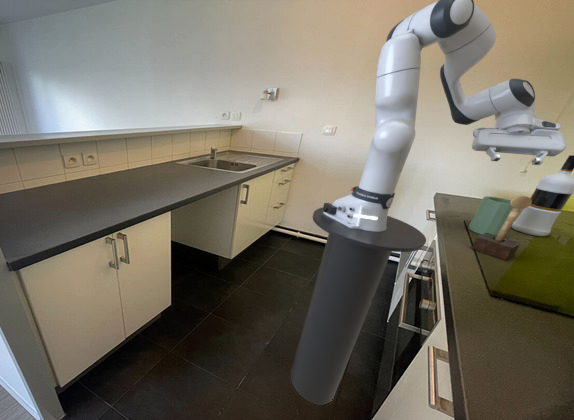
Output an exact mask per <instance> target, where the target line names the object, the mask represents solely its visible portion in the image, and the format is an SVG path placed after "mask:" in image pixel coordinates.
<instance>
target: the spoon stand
mask: <svg viewBox="0 0 574 420" xmlns="http://www.w3.org/2000/svg"><path fill="white" fill-rule="evenodd" d="M495 238H496V235H493V234H490V233H484V234H479V235H478V236H477V237H476V238H475V241H474V242H473V244H472V246H471V249H472V250H474V251H477V252H480V253H482V254H485V255H489V256H492V257H495V258H498V259H500V260H503V261H506V260H508V259H510V258H511V257H513V256H514V255H515V254H516V252H517V250H518V248H519V247H520V245H521V242H519V241H516V240H513V239H509V238H507V237H505V238H504V239H503V241H502V242H501V241H498V240H495Z"/></svg>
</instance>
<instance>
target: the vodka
mask: <svg viewBox="0 0 574 420" xmlns="http://www.w3.org/2000/svg"><path fill="white" fill-rule="evenodd" d="M573 171H574V154H572V155H568V157H567V158H566V160H565V161H564V163H563V164H562V166H561V168H560V170H558V172H557V173H553V174H548V175H545V176H543V177H541V178H540V179H539V181H538V183H537V185H536V186H535V190H534V191H533V193H532V194H531V196H530V197H529V198H530V199H531V200H532V204H531V205H530V206H529V207H527V208H524V209H522V210H521V212H520V213H519V214H518V216H517V217H516V219H515V221H514V222H513V224H512V226H511V228H512V229H513V230H514V231H516V232H519V233H522V234H526V235H529V236H534V237H547V236H549V235H550V234H551V231H552V227H553V225H554V223H555V222H556V220H557V218H558V217H559V215H560V214H561V213H562V210H563V209H564V207H565V205H566V204H567V203H568V201H569V199H570V198H571V196H572V195H573V194H574V176H573V175H572V173H573Z"/></svg>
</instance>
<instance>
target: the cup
mask: <svg viewBox="0 0 574 420" xmlns="http://www.w3.org/2000/svg"><path fill="white" fill-rule="evenodd" d="M510 200H511V199H508V198H503V197H497V196H488V195H487V196H483V197H482V199H481V202H480V204H479V206H478V207H477V209H476V211H475V214H474V215H473V216H472V219H471V220H470V223H469V224H468V230H469V231H471V232H474V233H476V234H479V235H482V234H484V233H490V234H493V235H496V236H497V235H498V233H499V231H500V229H501V228H502V226H503V224H504V222H505V221H506V219H507V217H508V215H509V214H510V212H511V210H512V209H513V208H514V207H512V206H511V205H510Z"/></svg>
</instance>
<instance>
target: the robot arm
mask: <svg viewBox="0 0 574 420" xmlns="http://www.w3.org/2000/svg"><path fill="white" fill-rule="evenodd" d="M496 41H497V34H496V30H495V28H494V25H493V24H492V22H491V20H490V19H489V18H488V16H487V15H486V14H485V12H484V11H483V10H482V9H481V8H480V7H479V6H478V5H477V4H476V3H475V1H474V0H437V1H435V2H433V3H430V4H429V5H427V6H425V7H423V8H420V9H418V10H416V11H415V12H414V13H412V14H410V15H409V16H407V17H406V18H405V19H402V20H401V21H399V22H398V23H396V24H395V25H394V26H393V27H392V28H391V29H390V31H389V32H388V34H387V36H386V40H385V43H383V45H382V46H381V49H380V53H379V56H378V61H377V67H376V68H377V69H376V77H375V78H376V79H375V100H374V101H375V102H374V107H375V109H374V110H375V128H374V131H373V133H372V136H371V140H370V143H369V144H370V145H369V147H368V152H367V155H366V159H365V163H364V167H363V171H362V174H361V177H360V181H359V184H358V185H356V186H353V187H350V191H352V192H351V194H347V195H345V196H343V197H339V198H337V199H336V200H334V202H333V203H330V202H324V203H323V210H324V212H323V214H325V215H327V216H329V217H331V218H332V219H334V220H336V221H338V222H340V223H342V224H344V225H345V226H347V227H349V228H353V229H362V230H367V231H374V232H381V231H385V230H386V229H387V228H386V223H387V216H389V215H388V214H389V210H390V208H391V206H392V204H393V203H394V199H395V195H396V193H395V191H396V189H397V185H398V183H399V180H400V177H401V175H402V172H403V169H404V167H405V164H406V162H407V159H408V156H409V154H410V151H411V149H412V146H413V144H414V141H415V138H416V128H415V127H416V117H417V108H418V99H419V91H420V89H419V88H420V76H421V66H422V65H421V64H422V58H421V56H422V53H421V52H422V50H423V49H424V48H425V49H426V48H428V47H431V46H432V45H434V44H437V45H438V47H439V49H440V50H441V52H442V54H443V55H444V63H443V64H442V65H441V67H440V69H439V79H440V81H441V86H442V88H443V91H444V95H445V98H446V99H447V100H446V101H447V103H448V104H447V105H448V107H449V111H450V117H451V119H452V121H453V122H454V123H455V124H458V125H463V126H469V125H471V124H474V123H476V122H478V121H481V120H483V119H485V118H489V117H492V116H494V119H495V122H494V123H495V124H494V127H479V128H474V130H472V131H473V132H472V136H473V137H474V138H473V140H472V144H471V149H472V150H473V151H476V152H485V154H486V155H487V156H488V157H489V158H490V162H498V161H500V160H501V154H502V153H503V154H512V155H525V156H526V155H527V156H535V157H534V159H532V160H531V165H533V166H541V164H543V163H544V159H545V157H556V156H558V155H560V154H561V153H563V152H564V151H565V150H566V148H567V142H566V138H565V135H564V134H563V132H561V131H559V130H560V129H561V128H562V125H561V124H560V123H558V122H552V121H548V120H544V119H540V118H537V116H536V115H535V112H536V103H535V101H536V93H535V89H534V86H533V85H532V84H531V82H530V81H528V80H526V79H521V78H510V79H507V80H504V81H502V82H499V83H497V84H494V85H492V86H490V87H487V88H486V89H483V90H481V91H478V92H476V93H473V94H471V95H470V94H469V95H465V93H464V90H463V85H462V82H461V78H462V77H463V76H464V75H465V74H466V73H467V72H468V71H470V70H471V69H472V68H473V67H475V66H476V65H477V64H479V63H480V62H481V61H482V60H483V59H484V58H485V57H486V56H487V55H488V54H489V52H490V51H491V50H492V48H493V47H494V45H495V43H496ZM499 153H501V154H499Z"/></svg>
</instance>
